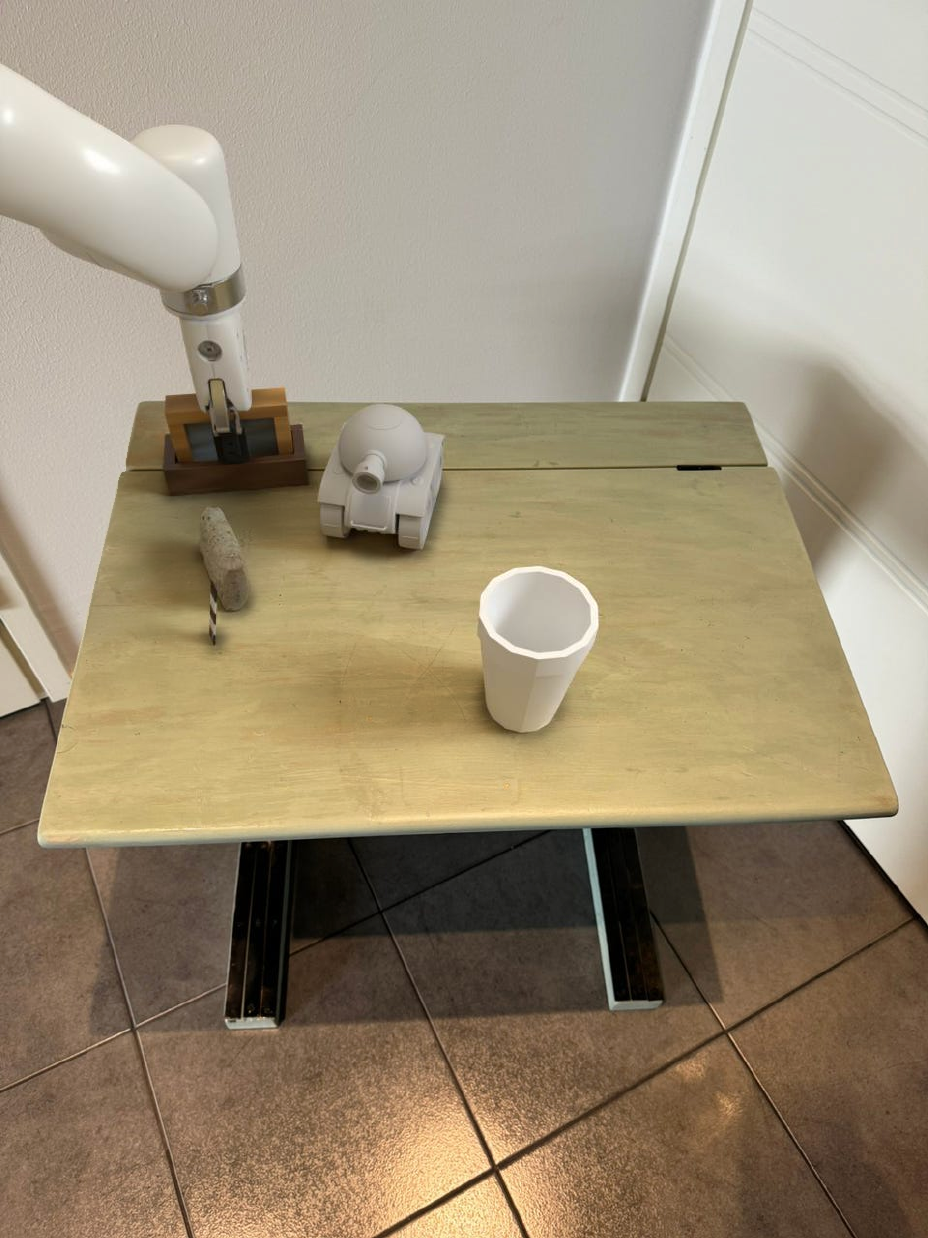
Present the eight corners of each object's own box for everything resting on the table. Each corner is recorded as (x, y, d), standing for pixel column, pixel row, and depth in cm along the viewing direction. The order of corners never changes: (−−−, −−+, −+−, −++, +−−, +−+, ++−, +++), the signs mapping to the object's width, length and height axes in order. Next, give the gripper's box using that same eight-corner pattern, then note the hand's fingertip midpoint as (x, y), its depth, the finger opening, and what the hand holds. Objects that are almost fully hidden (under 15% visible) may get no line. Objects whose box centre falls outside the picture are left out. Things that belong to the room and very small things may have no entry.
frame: (295, 472, 92) (286, 404, 85) (183, 481, 90) (164, 413, 83) (293, 454, 94) (284, 386, 87) (183, 463, 92) (165, 394, 85)
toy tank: (420, 570, 84) (422, 472, 74) (318, 554, 85) (306, 455, 75) (444, 473, 94) (449, 375, 84) (353, 460, 94) (346, 361, 84)
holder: (170, 496, 89) (162, 470, 87) (171, 459, 93) (164, 433, 90) (308, 484, 92) (305, 458, 89) (305, 449, 95) (302, 423, 93)
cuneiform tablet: (213, 645, 77) (178, 558, 84) (260, 635, 79) (222, 551, 86) (215, 591, 72) (177, 503, 79) (265, 582, 74) (224, 497, 81)
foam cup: (560, 656, 79) (583, 562, 68) (584, 741, 73) (613, 651, 63) (461, 666, 77) (469, 571, 67) (478, 753, 72) (489, 664, 61)
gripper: (247, 333, 71) (273, 494, 85) (242, 235, 81) (266, 392, 95) (154, 339, 69) (197, 500, 83) (161, 238, 80) (198, 397, 94)
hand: (233, 441), depth 89 cm, fingers open, 5 cm apart
